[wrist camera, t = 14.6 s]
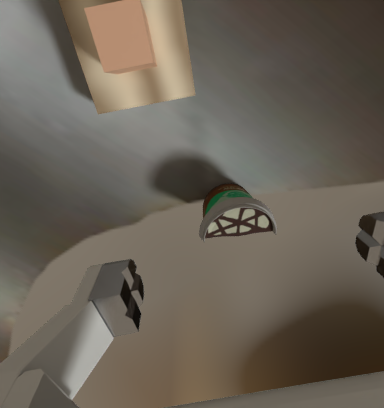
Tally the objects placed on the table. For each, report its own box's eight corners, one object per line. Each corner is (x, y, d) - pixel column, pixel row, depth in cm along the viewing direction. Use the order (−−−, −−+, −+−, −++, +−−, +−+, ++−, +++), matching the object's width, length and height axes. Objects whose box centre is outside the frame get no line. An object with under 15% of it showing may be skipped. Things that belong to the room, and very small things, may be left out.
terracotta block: (117, 74, 28) (103, 72, 22) (102, 23, 25) (84, 8, 20) (157, 66, 28) (153, 62, 22) (146, 14, 25) (139, -4, 20)
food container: (260, 174, 41) (284, 199, 32) (258, 204, 44) (279, 234, 35) (192, 180, 40) (197, 208, 32) (195, 210, 43) (200, 242, 35)
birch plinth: (107, 110, 34) (98, 114, 30) (71, -2, 28) (52, -18, 24) (192, 93, 34) (195, 95, 29) (174, -23, 28) (174, -43, 23)
